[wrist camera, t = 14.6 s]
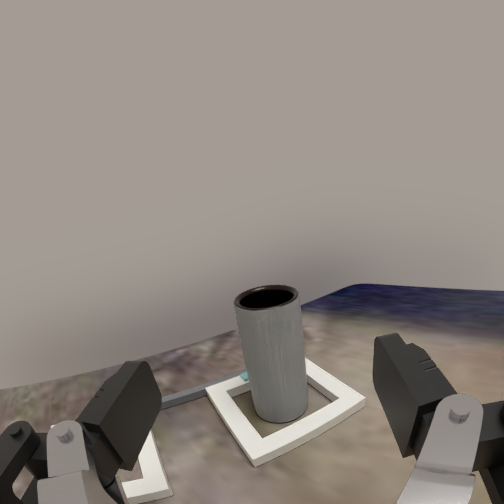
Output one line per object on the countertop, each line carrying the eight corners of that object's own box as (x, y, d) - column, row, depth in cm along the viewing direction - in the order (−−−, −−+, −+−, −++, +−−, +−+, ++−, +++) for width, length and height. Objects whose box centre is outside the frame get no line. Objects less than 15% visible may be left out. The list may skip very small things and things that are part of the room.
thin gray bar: (251, 373, 27) (249, 367, 27) (254, 377, 27) (253, 371, 26) (99, 419, 21) (96, 413, 21) (100, 424, 20) (96, 418, 20)
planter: (310, 421, 20) (301, 305, 17) (252, 425, 20) (228, 312, 18) (306, 386, 24) (297, 281, 22) (257, 391, 24) (238, 288, 22)
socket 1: (147, 413, 22) (143, 403, 22) (173, 495, 13) (167, 486, 13) (56, 432, 18) (50, 423, 18) (51, 512, 9) (41, 503, 9)
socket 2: (297, 359, 29) (296, 349, 28) (364, 406, 20) (365, 394, 19) (207, 395, 25) (204, 385, 24) (254, 467, 16) (252, 457, 15)
